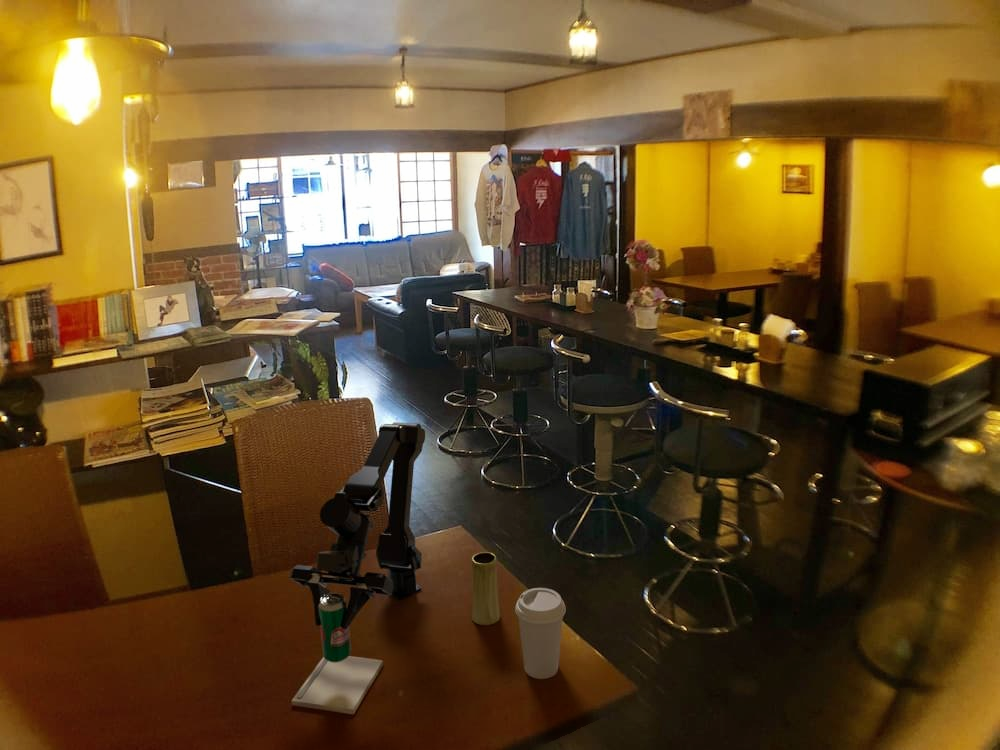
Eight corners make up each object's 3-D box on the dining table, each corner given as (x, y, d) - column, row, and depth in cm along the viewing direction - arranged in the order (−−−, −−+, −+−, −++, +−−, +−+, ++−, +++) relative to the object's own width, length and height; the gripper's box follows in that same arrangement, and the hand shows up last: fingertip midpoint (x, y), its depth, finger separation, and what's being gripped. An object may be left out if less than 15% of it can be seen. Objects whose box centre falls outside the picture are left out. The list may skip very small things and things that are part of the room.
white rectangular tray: (326, 657, 147) (326, 652, 146) (383, 664, 144) (382, 659, 144) (292, 705, 133) (291, 699, 133) (353, 714, 131) (352, 709, 130)
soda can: (335, 667, 134) (329, 609, 130) (318, 657, 137) (311, 600, 134) (357, 653, 137) (351, 597, 134) (339, 643, 141) (334, 588, 137)
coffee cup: (536, 646, 148) (535, 580, 144) (575, 664, 142) (575, 596, 138) (506, 671, 141) (504, 602, 137) (546, 691, 135) (546, 619, 131)
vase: (501, 609, 161) (499, 551, 157) (498, 626, 155) (496, 565, 151) (473, 608, 162) (471, 550, 158) (470, 625, 156) (467, 564, 152)
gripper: (288, 526, 137) (264, 612, 129) (383, 535, 132) (363, 624, 125) (312, 544, 146) (291, 625, 139) (401, 552, 142) (384, 636, 135)
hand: (330, 627), depth 134 cm, fingers closed on soda can, 5 cm apart
